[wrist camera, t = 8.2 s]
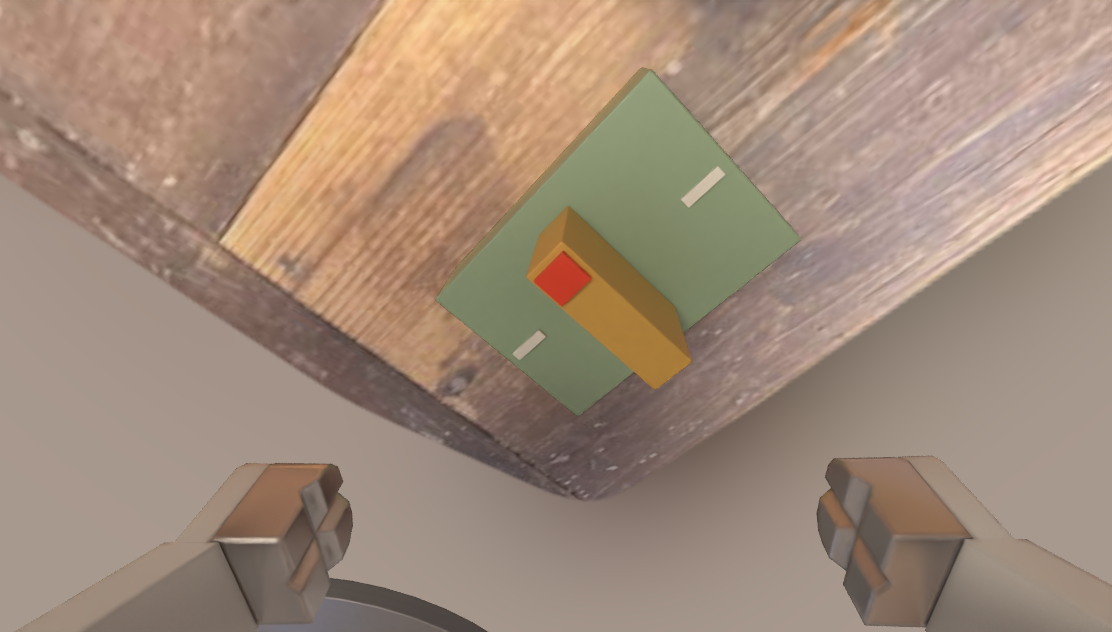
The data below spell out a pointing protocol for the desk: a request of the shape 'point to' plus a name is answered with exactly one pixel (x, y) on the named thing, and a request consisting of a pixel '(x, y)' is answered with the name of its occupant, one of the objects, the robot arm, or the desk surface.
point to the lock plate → (620, 237)
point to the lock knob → (609, 298)
